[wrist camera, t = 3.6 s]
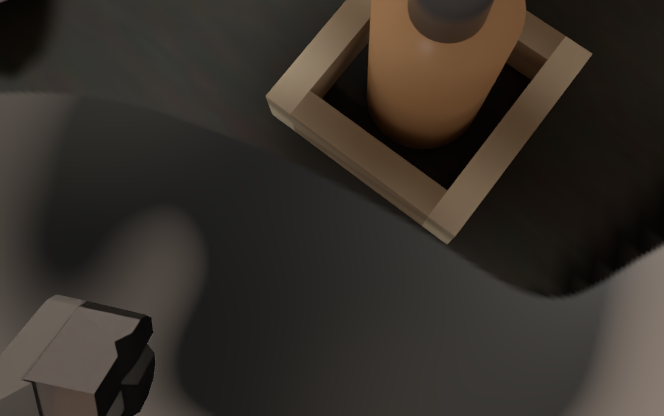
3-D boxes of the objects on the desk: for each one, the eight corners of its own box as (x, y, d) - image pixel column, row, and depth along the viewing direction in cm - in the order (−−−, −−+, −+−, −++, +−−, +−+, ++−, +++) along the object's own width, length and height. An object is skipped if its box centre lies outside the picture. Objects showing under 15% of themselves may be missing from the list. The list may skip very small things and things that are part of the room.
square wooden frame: (447, 244, 24) (455, 236, 22) (272, 114, 25) (265, 95, 23) (574, 75, 25) (592, 53, 23) (400, -40, 26) (404, -70, 24)
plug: (435, 171, 24) (483, 72, 15) (344, 105, 25) (337, -28, 16) (501, 85, 25) (587, -61, 16) (411, 23, 26) (442, -152, 16)
